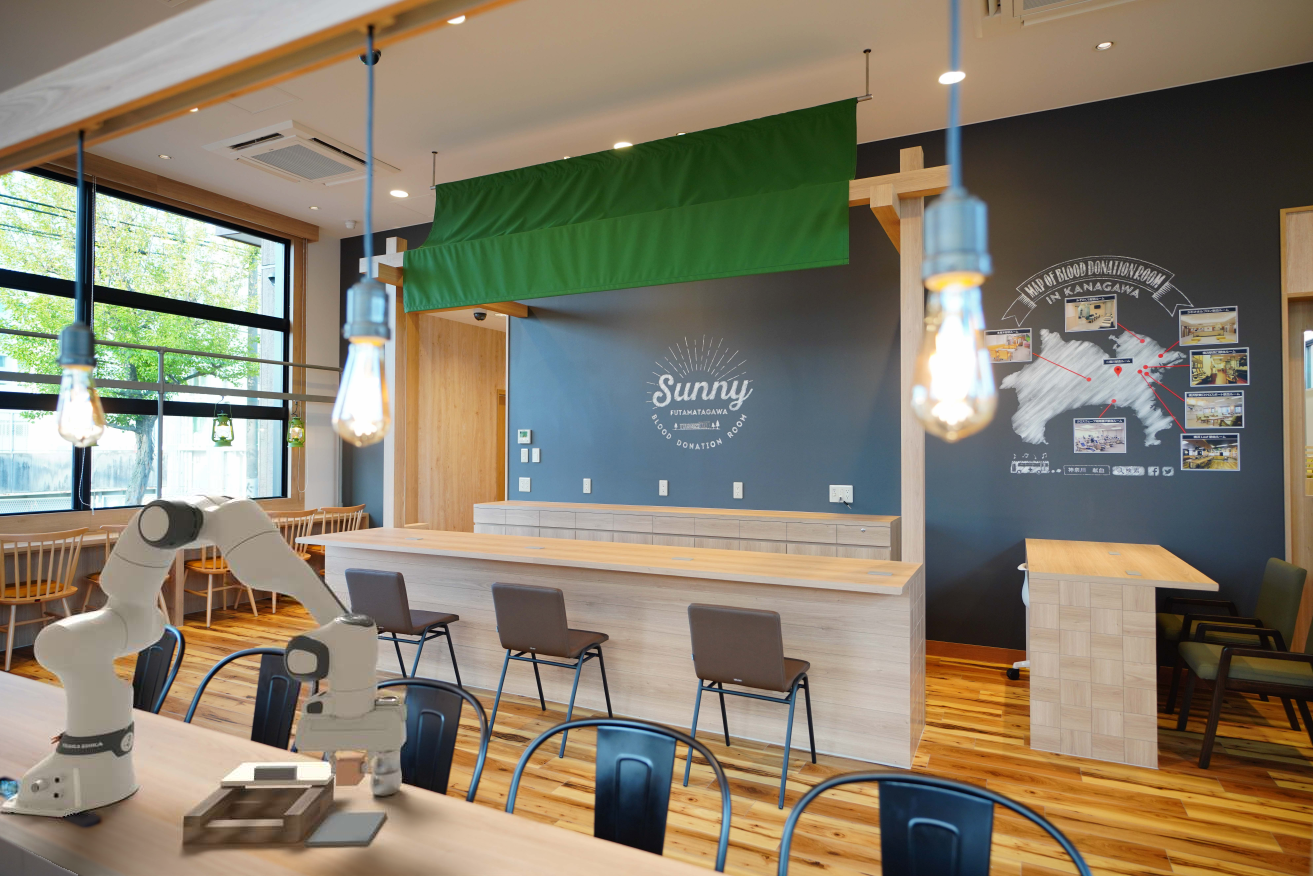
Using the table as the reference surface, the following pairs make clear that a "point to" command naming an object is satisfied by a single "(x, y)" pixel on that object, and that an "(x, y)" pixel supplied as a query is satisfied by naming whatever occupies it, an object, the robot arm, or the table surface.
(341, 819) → the coaster
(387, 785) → the plastic bottle
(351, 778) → the block
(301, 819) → the wooden box
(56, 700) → the table surface
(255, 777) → the lid
